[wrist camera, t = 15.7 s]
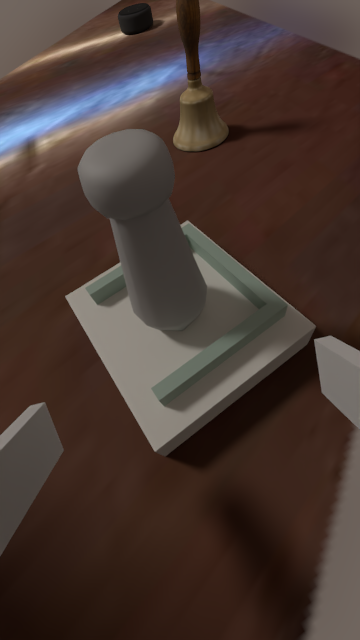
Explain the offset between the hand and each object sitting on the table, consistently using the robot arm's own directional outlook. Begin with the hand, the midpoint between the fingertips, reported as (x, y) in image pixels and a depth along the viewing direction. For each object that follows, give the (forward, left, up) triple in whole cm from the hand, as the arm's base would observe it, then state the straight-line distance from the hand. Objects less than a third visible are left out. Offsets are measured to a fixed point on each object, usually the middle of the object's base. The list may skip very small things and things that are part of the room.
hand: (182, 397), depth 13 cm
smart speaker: (-92, +48, -9) cm, 104 cm away
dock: (-8, +4, -9) cm, 13 cm away
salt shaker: (-8, +4, -6) cm, 11 cm away
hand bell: (-33, +25, -9) cm, 42 cm away
